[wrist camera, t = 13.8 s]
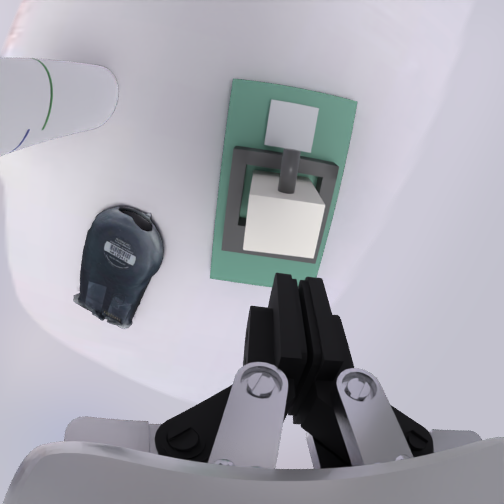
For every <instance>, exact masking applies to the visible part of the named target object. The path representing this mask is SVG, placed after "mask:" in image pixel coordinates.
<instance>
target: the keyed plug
mask: <svg viewBox="0 0 504 504" xmlns="http://www.w3.org/2000/svg"><path fill="white" fill-rule="evenodd" d="M300 155H301V151H299V150H295V149H288V148H284V150H283V156H282V163H281V170H280V173H275V172H267V171H259V170H254V171H253V176H252V182H251V188H250V194H249V202H248V210H247V219H246V227H245V236H244V245H243V250H248V251H256V252H264V253H272V254H281V255H289V256H297V257H305V258H314V254H315V250H316V246H317V241H318V237H319V232H320V228H321V223H322V219H323V214H324V209H325V204H324V202H323V200H322V199H321V197H320V195H319V194H318V192H317V190H316V189H315V187H314V185H313V184H312V182H311V180H310V179H309V177H303V176H297V174H298V167H299V161H300Z"/></svg>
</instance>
